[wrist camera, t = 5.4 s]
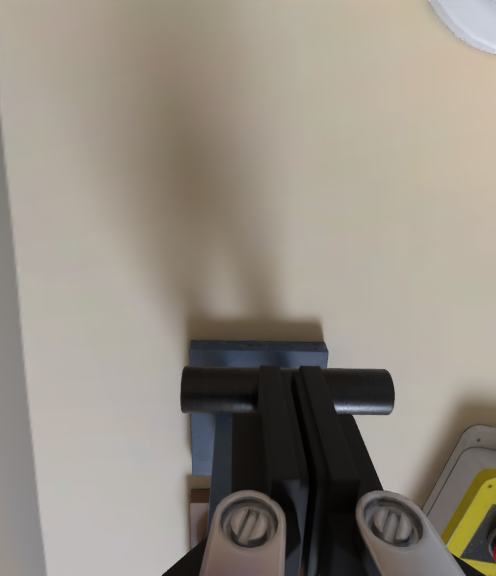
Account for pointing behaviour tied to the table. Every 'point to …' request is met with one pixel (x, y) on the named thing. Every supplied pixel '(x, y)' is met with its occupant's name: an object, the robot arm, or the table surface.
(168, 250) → the table surface
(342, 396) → the lever
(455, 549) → the emergency button
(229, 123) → the table surface
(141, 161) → the table surface
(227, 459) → the bracket
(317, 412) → the robot arm
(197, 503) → the button block
